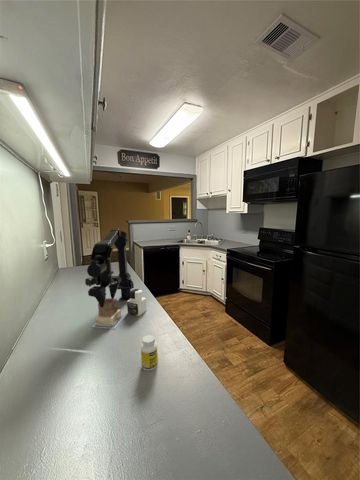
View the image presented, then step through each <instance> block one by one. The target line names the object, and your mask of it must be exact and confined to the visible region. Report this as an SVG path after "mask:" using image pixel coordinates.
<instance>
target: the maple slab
mask: <svg viewBox="0 0 360 480" xmlns="http://www.w3.org/2000/svg"><path fill="white" fill-rule="evenodd" d="M117 310H118V311H117V312H116V313H115V314H114V315H113V316H112V317H104V316H99V314H98V315H97V316H96V317H95V323H96V322H97V325H98V326H111V327H113V326H114V325H115V324H116V323H117V321H118V320H119V319H120V318H121V315H122V314H121V313H122V311H121V309H117Z"/></svg>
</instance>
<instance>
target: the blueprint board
mask: <svg viewBox="0 0 360 480" xmlns="http://www.w3.org/2000/svg"><path fill="white" fill-rule="evenodd" d="M126 317H127V315H125V314H123V315H122V314H121V318H120V319H119V320H118V321H117V323H116V324H115V325H114V326H113V327H111V326H98V325H97V322H96V321H95V322H94V324H92V325H91V326H90V328H92V329H103V330H116V329H117V328H118V326H120V324H121V323H122V322H123V320H125V318H126Z"/></svg>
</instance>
